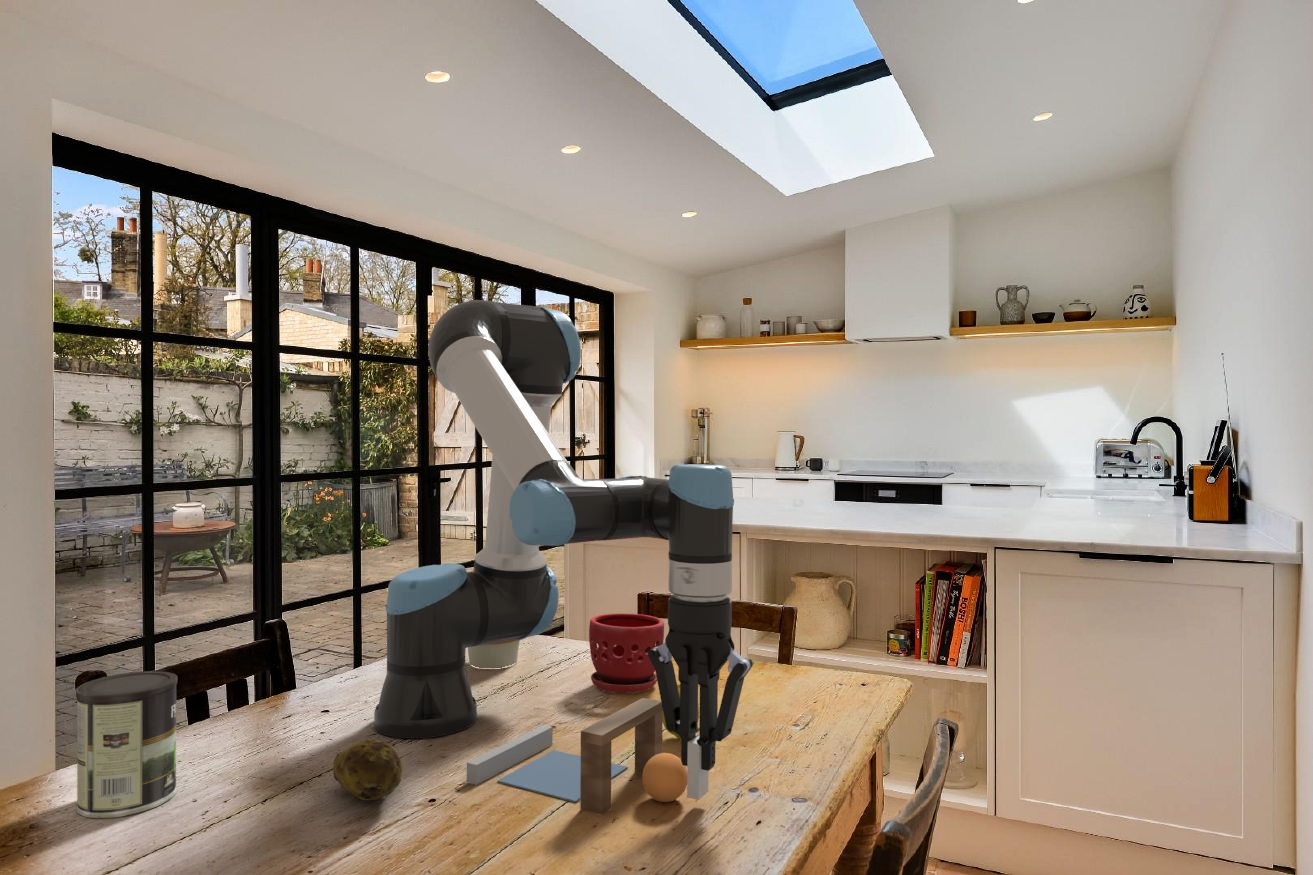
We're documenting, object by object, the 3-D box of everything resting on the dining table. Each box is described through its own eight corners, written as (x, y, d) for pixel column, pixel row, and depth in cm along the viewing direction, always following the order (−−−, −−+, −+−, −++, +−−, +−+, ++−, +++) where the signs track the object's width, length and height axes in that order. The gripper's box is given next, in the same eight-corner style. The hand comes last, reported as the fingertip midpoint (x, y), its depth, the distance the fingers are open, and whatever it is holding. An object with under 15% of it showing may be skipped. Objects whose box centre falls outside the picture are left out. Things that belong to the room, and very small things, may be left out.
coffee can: (163, 775, 107) (164, 665, 107) (187, 800, 100) (188, 682, 100) (67, 799, 100) (67, 681, 100) (84, 828, 93) (85, 701, 93)
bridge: (580, 809, 98) (580, 730, 98) (642, 767, 111) (642, 697, 111) (601, 815, 97) (602, 735, 97) (662, 771, 109) (662, 701, 109)
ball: (676, 812, 97) (635, 806, 100) (697, 794, 102) (657, 788, 104) (673, 764, 97) (632, 759, 100) (693, 748, 102) (654, 744, 105)
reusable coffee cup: (506, 651, 170) (507, 578, 170) (538, 665, 160) (538, 586, 160) (449, 661, 162) (449, 584, 162) (478, 676, 152) (478, 594, 152)
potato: (403, 776, 107) (403, 714, 107) (401, 820, 95) (402, 749, 95) (334, 783, 105) (334, 719, 105) (323, 829, 93) (323, 757, 93)
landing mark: (497, 781, 106) (497, 780, 106) (553, 751, 116) (553, 749, 116) (575, 802, 100) (575, 800, 100) (627, 768, 110) (627, 766, 110)
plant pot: (639, 703, 138) (639, 630, 138) (574, 690, 144) (574, 621, 144) (677, 683, 149) (677, 616, 149) (615, 672, 156) (615, 608, 156)
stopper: (466, 782, 106) (466, 762, 106) (543, 742, 120) (543, 724, 120) (476, 784, 105) (476, 764, 105) (552, 744, 119) (552, 726, 119)
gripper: (636, 594, 99) (634, 794, 99) (738, 606, 92) (735, 819, 92) (666, 584, 105) (664, 771, 105) (763, 595, 99) (761, 794, 99)
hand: (697, 794), depth 99 cm, fingers closed
